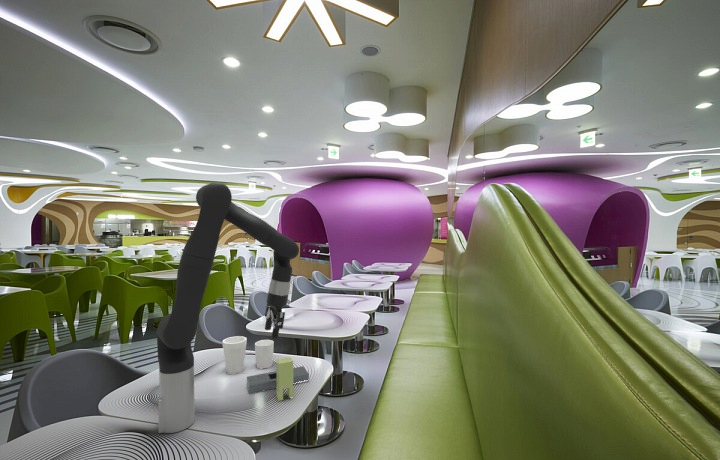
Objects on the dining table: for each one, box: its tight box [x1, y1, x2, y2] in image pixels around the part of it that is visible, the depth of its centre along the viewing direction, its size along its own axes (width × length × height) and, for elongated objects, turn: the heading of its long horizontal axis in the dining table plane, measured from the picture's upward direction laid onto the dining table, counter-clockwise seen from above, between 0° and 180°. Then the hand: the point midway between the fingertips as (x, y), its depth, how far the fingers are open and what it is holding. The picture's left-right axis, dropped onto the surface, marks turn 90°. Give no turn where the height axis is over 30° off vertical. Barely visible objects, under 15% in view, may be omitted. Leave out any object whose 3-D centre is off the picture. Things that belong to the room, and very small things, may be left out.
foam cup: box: [222, 335, 248, 375], centre depth 138 cm, size 10×9×13 cm
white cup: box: [254, 339, 275, 369], centre depth 144 cm, size 8×8×10 cm
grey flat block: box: [246, 365, 310, 395], centre depth 127 cm, size 22×8×3 cm, turn 115°
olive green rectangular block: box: [275, 356, 294, 402], centre depth 116 cm, size 5×4×13 cm
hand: (270, 333), depth 125 cm, fingers open, 8 cm apart
